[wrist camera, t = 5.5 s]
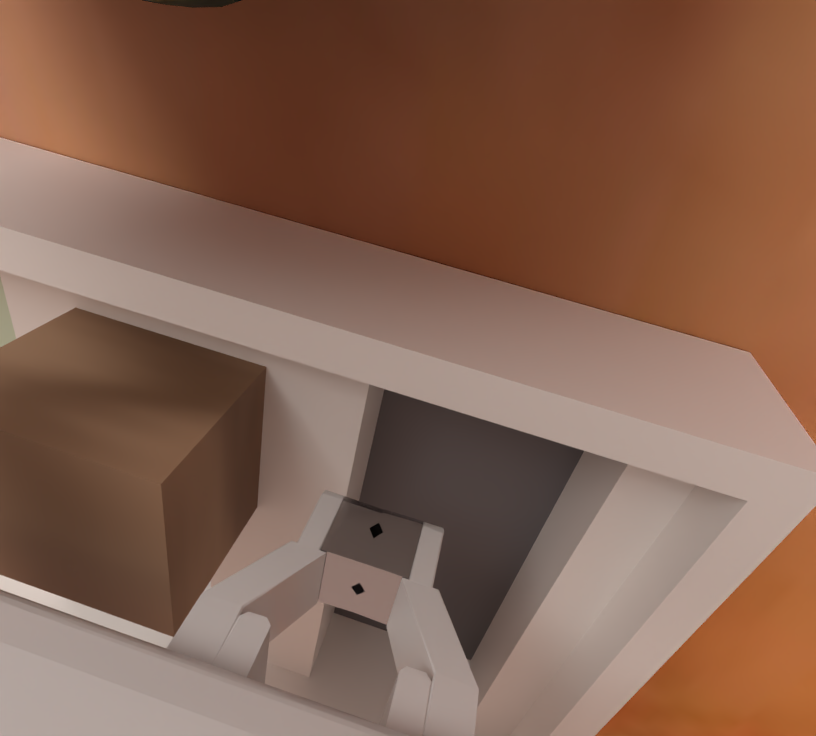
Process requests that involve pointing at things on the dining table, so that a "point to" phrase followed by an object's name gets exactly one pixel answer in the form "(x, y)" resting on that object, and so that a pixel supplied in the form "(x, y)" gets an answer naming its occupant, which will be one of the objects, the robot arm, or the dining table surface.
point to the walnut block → (124, 464)
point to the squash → (195, 2)
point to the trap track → (438, 437)
